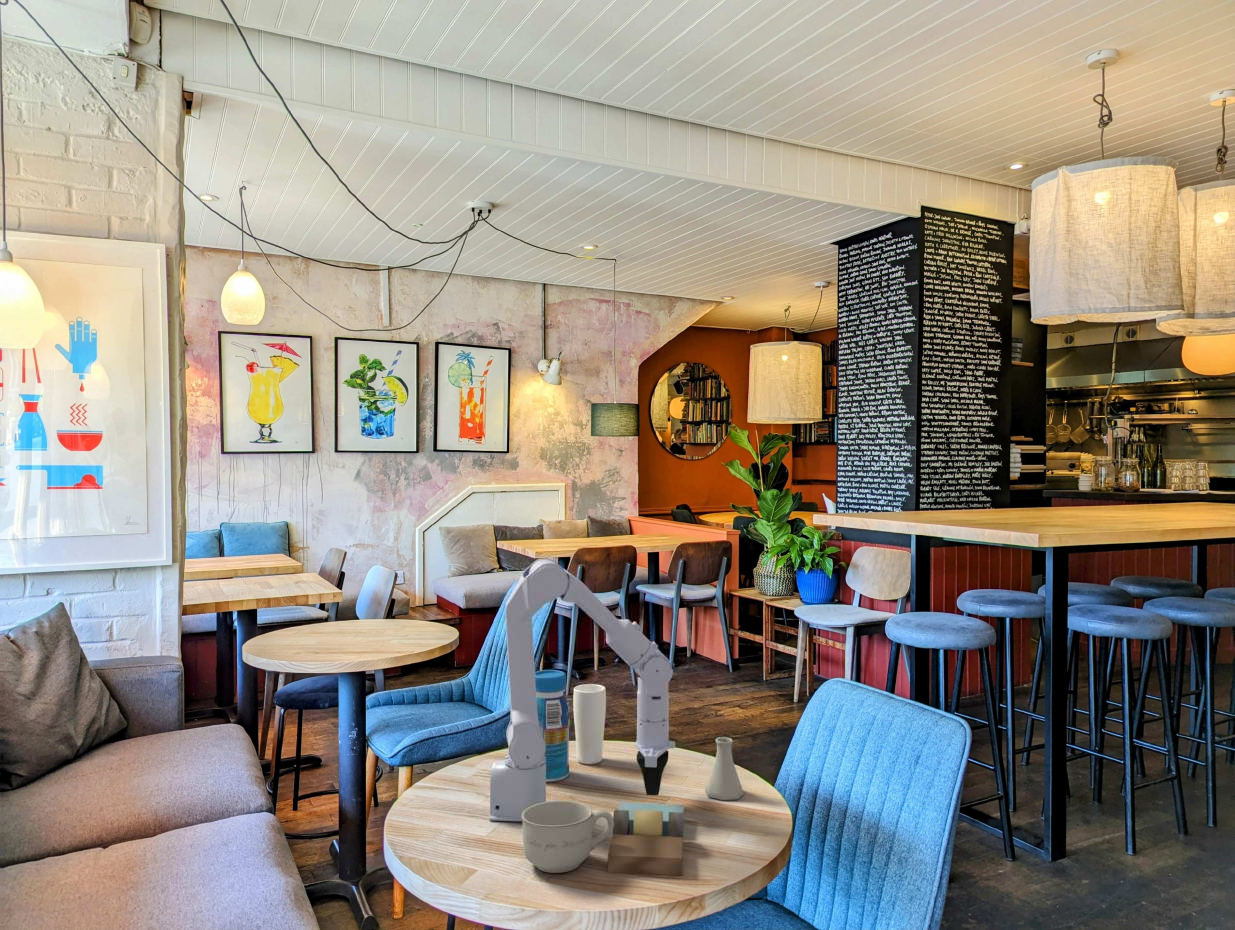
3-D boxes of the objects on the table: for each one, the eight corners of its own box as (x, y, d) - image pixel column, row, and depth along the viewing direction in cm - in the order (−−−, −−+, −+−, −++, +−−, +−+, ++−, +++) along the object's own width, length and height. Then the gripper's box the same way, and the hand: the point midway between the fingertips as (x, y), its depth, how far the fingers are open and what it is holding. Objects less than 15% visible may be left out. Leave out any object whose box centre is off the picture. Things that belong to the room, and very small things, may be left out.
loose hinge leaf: (612, 848, 128) (612, 816, 128) (619, 817, 140) (619, 788, 141) (682, 851, 127) (682, 819, 127) (683, 819, 139) (683, 790, 140)
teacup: (515, 880, 118) (516, 825, 118) (527, 846, 129) (527, 795, 129) (611, 883, 118) (611, 827, 118) (615, 848, 128) (615, 797, 128)
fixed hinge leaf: (608, 872, 121) (608, 838, 121) (615, 835, 133) (615, 804, 133) (682, 875, 120) (682, 841, 120) (682, 838, 132) (683, 807, 132)
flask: (743, 803, 146) (742, 747, 147) (702, 799, 148) (702, 744, 148) (745, 788, 154) (744, 735, 154) (706, 785, 155) (706, 732, 155)
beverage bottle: (519, 780, 157) (519, 676, 157) (538, 765, 165) (538, 666, 165) (559, 786, 154) (559, 680, 155) (576, 771, 162) (577, 670, 162)
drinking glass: (612, 759, 169) (612, 686, 169) (593, 768, 163) (594, 694, 164) (585, 753, 173) (585, 682, 173) (566, 762, 167) (566, 689, 167)
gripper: (674, 730, 139) (674, 811, 138) (675, 707, 153) (675, 779, 153) (633, 729, 139) (632, 809, 139) (638, 705, 154) (638, 778, 153)
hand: (652, 793), depth 146 cm, fingers closed
